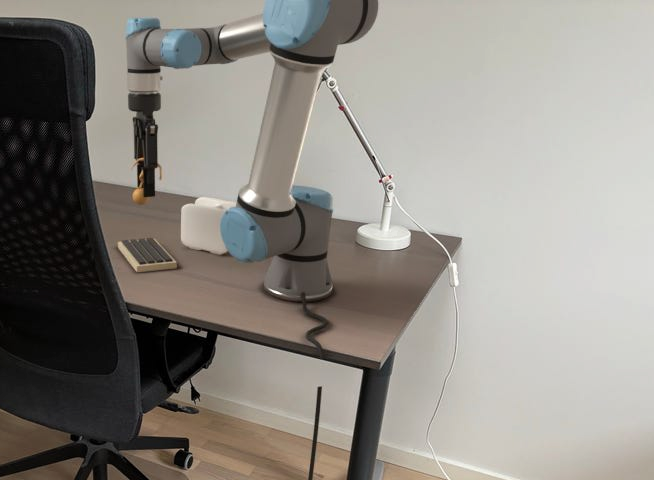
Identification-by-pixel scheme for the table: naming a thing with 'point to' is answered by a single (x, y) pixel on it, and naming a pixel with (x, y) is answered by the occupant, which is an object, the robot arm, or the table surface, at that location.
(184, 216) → the cable organizer
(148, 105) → the robot arm
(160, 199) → the table surface
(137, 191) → the figurine
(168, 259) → the keyboard
